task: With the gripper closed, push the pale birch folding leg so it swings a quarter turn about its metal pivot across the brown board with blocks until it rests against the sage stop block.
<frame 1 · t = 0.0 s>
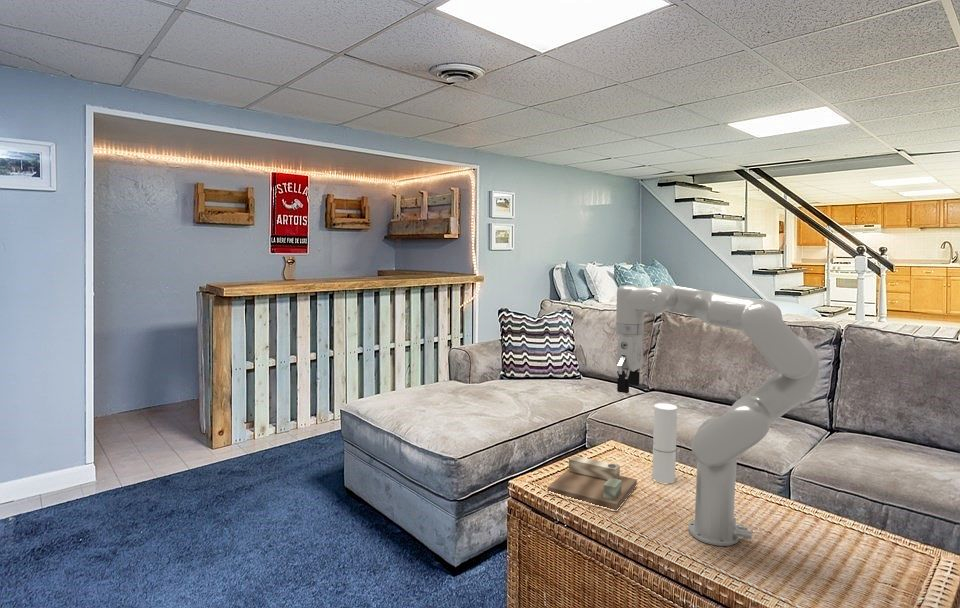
hand: (628, 388, 155), 37 cm above the table, tool pointing down, fingers open, 9 cm apart
brown board with blocks: (592, 490, 172), on the table
folding leg: (593, 467, 178), point 5 cm above the table, hinge at 0.0°
cylindrical container: (663, 480, 180), on the table
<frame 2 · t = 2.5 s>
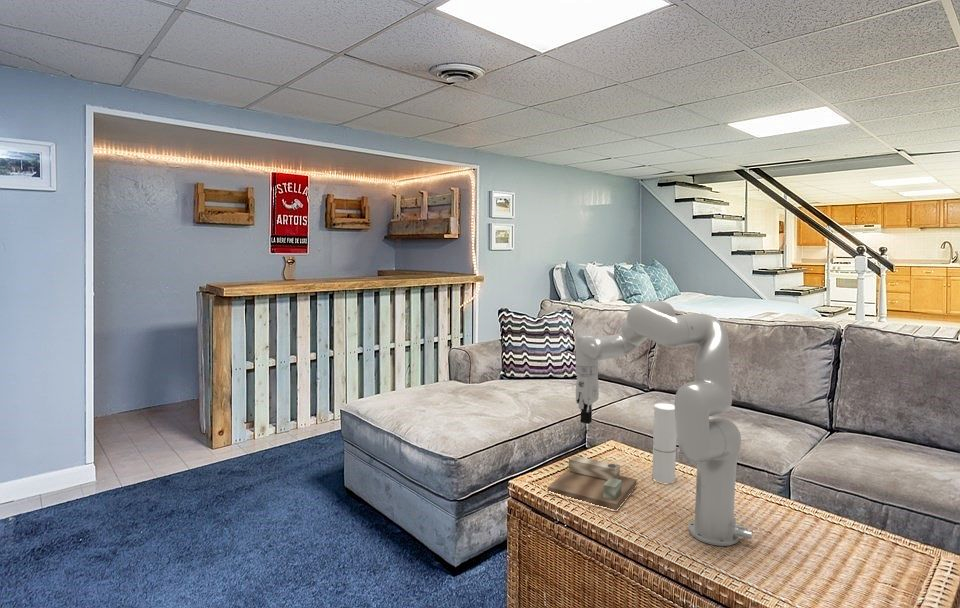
hand: (586, 422, 187), 17 cm above the table, tool pointing down, fingers closed
nothing on the table moved.
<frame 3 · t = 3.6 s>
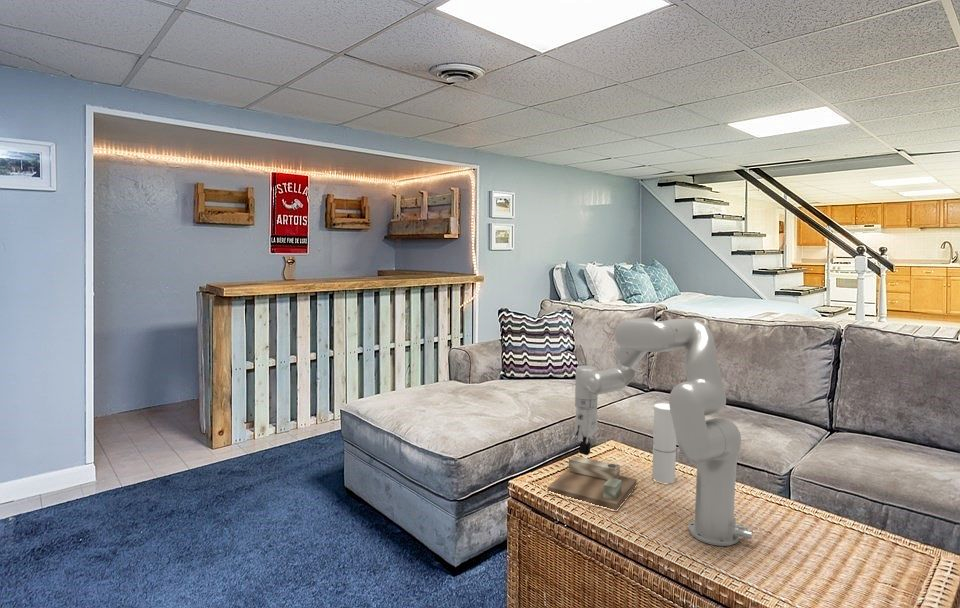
hand: (584, 453, 188), 6 cm above the table, tool pointing down, fingers closed
nothing on the table moved.
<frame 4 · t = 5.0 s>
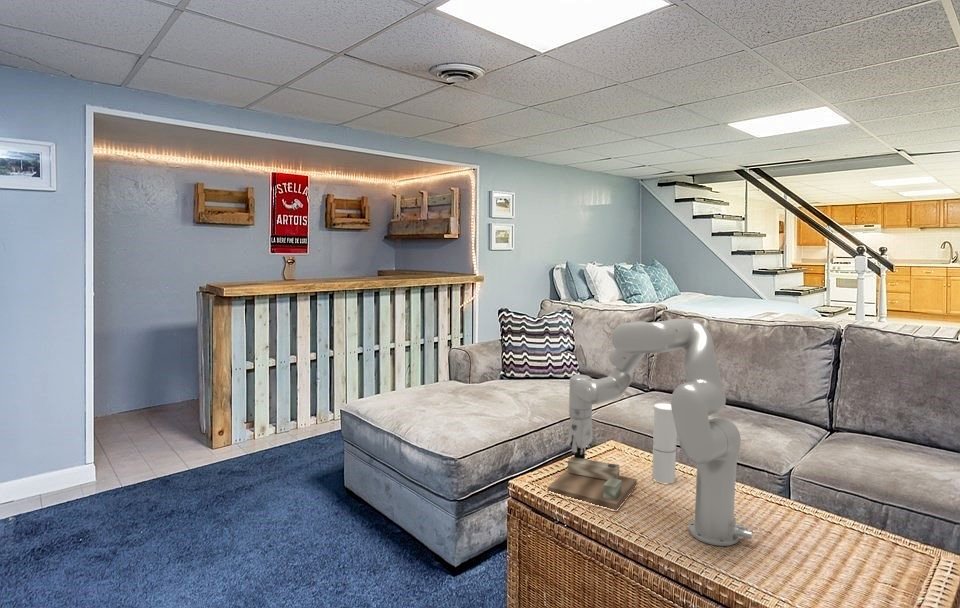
hand: (579, 464, 184), 4 cm above the table, tool pointing down, fingers closed
folding leg: (593, 468, 177), point 5 cm above the table, hinge at 5.4°, touching gripper
everything else where it was.
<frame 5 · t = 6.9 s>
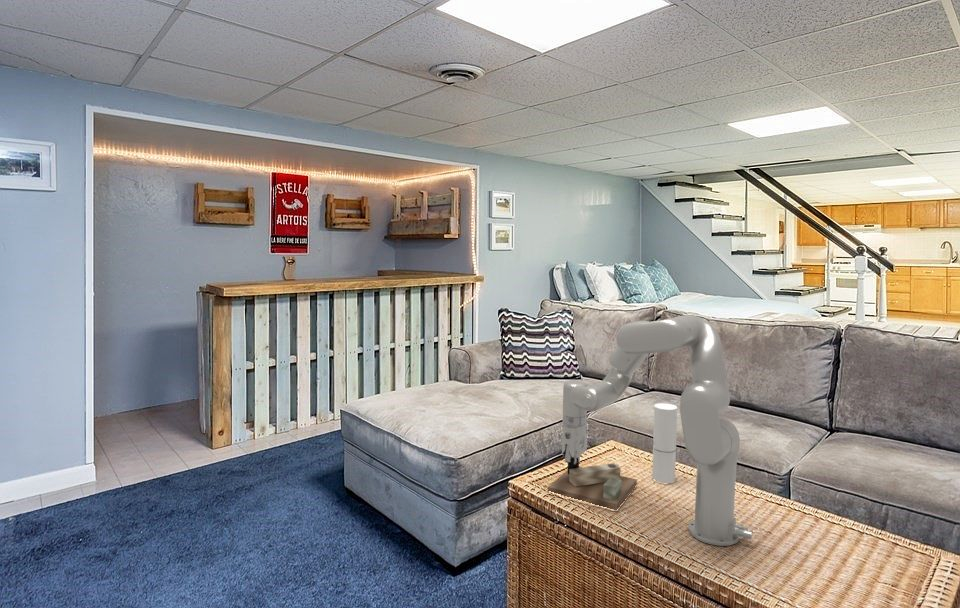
hand: (573, 474, 175), 4 cm above the table, tool pointing down, fingers closed
folding leg: (595, 474, 173), point 5 cm above the table, hinge at 49.6°, touching gripper
everything else where it was.
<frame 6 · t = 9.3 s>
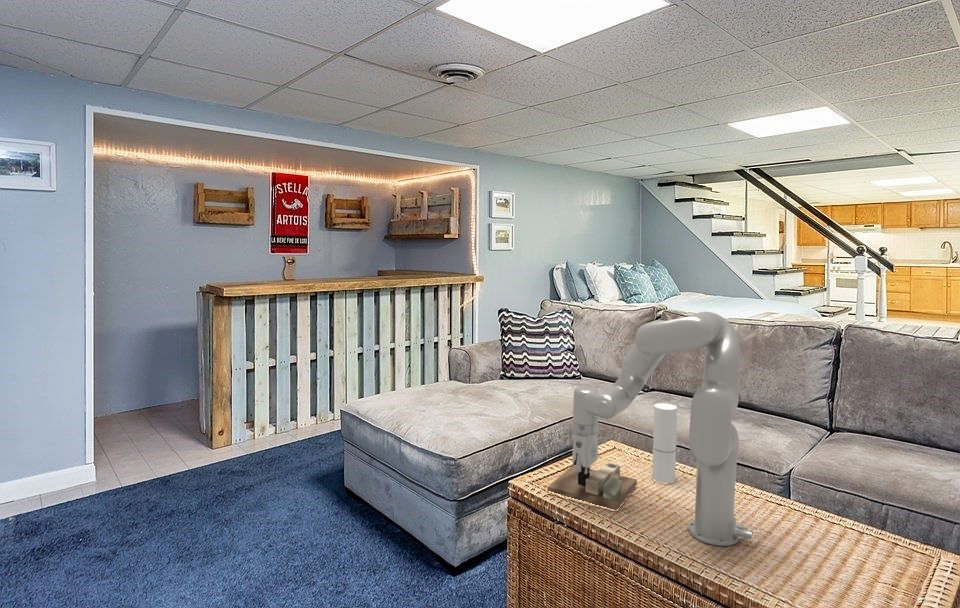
hand: (583, 484, 167), 4 cm above the table, tool pointing down, fingers closed
folding leg: (603, 478, 170), point 5 cm above the table, hinge at 84.1°, touching gripper
everything else where it was.
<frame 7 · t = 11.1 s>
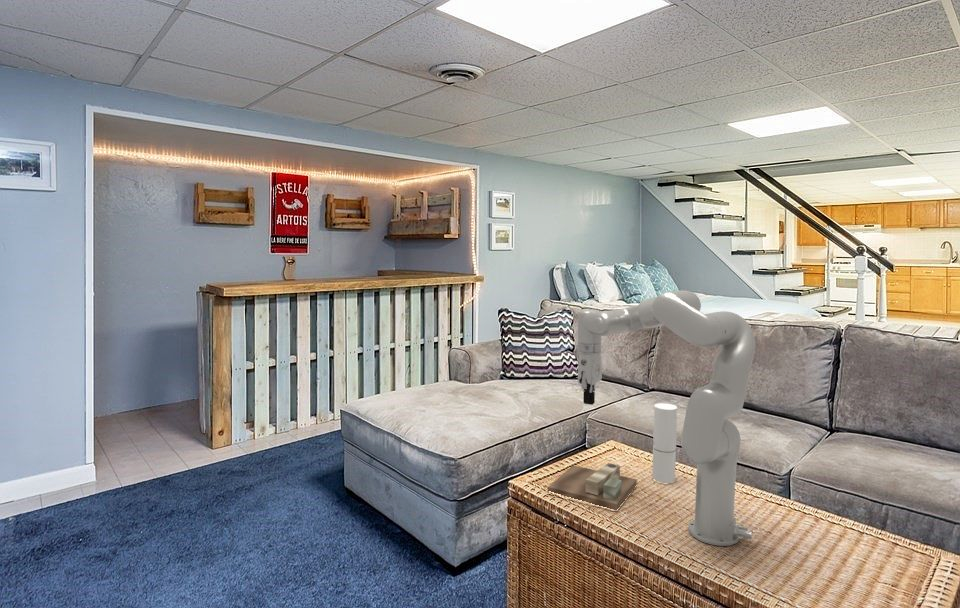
hand: (589, 403, 176), 26 cm above the table, tool pointing down, fingers closed
folding leg: (603, 478, 170), point 5 cm above the table, hinge at 84.1°
everything else where it was.
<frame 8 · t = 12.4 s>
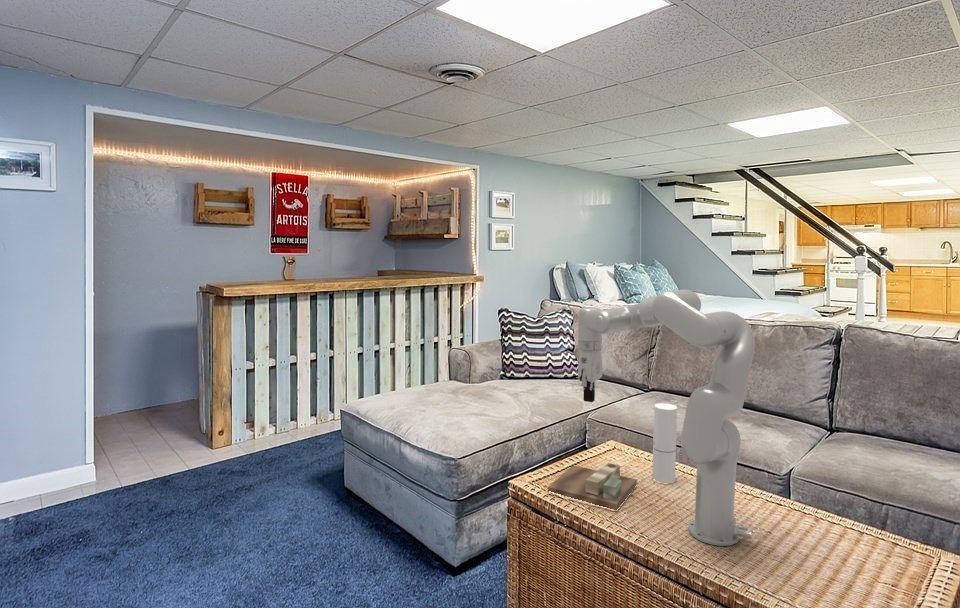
hand: (589, 401, 177), 27 cm above the table, tool pointing down, fingers closed
nothing on the table moved.
at the end: folding leg at +84° (first picture: +0°) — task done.
